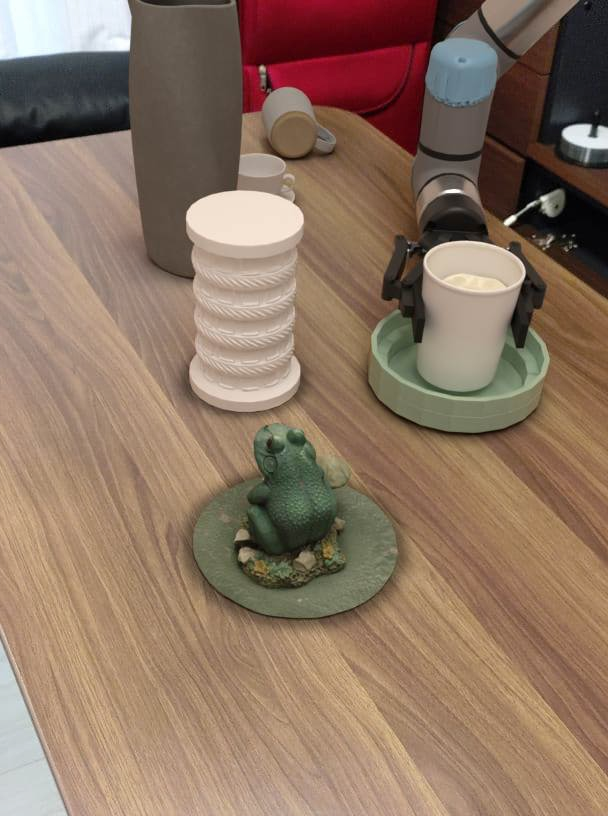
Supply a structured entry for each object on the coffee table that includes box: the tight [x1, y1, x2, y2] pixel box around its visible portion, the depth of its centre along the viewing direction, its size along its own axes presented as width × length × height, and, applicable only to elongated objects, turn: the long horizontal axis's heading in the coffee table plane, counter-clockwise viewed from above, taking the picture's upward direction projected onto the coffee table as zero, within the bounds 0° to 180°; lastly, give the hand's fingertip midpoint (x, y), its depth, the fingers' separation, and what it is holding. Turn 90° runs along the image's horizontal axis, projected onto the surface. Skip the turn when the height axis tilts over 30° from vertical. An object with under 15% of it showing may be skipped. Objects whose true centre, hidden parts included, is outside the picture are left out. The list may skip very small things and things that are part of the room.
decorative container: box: [186, 190, 305, 413], centre depth 96 cm, size 12×12×18 cm
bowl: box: [367, 308, 551, 434], centre depth 102 cm, size 18×18×4 cm
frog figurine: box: [192, 422, 399, 619], centre depth 81 cm, size 18×18×12 cm
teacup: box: [237, 152, 296, 204], centre depth 130 cm, size 10×10×5 cm
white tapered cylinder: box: [416, 241, 526, 392], centre depth 98 cm, size 10×10×12 cm
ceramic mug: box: [260, 86, 337, 159], centre depth 141 cm, size 11×8×8 cm
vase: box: [127, 0, 244, 279], centre depth 109 cm, size 12×12×30 cm
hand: (471, 333), depth 94 cm, fingers closed on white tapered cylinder, 9 cm apart
